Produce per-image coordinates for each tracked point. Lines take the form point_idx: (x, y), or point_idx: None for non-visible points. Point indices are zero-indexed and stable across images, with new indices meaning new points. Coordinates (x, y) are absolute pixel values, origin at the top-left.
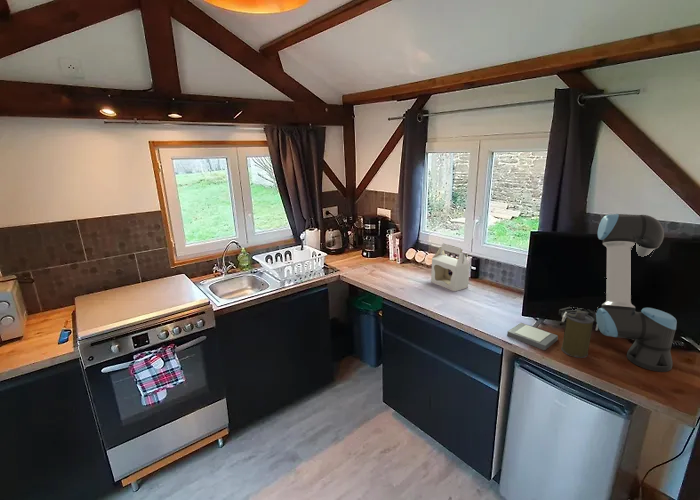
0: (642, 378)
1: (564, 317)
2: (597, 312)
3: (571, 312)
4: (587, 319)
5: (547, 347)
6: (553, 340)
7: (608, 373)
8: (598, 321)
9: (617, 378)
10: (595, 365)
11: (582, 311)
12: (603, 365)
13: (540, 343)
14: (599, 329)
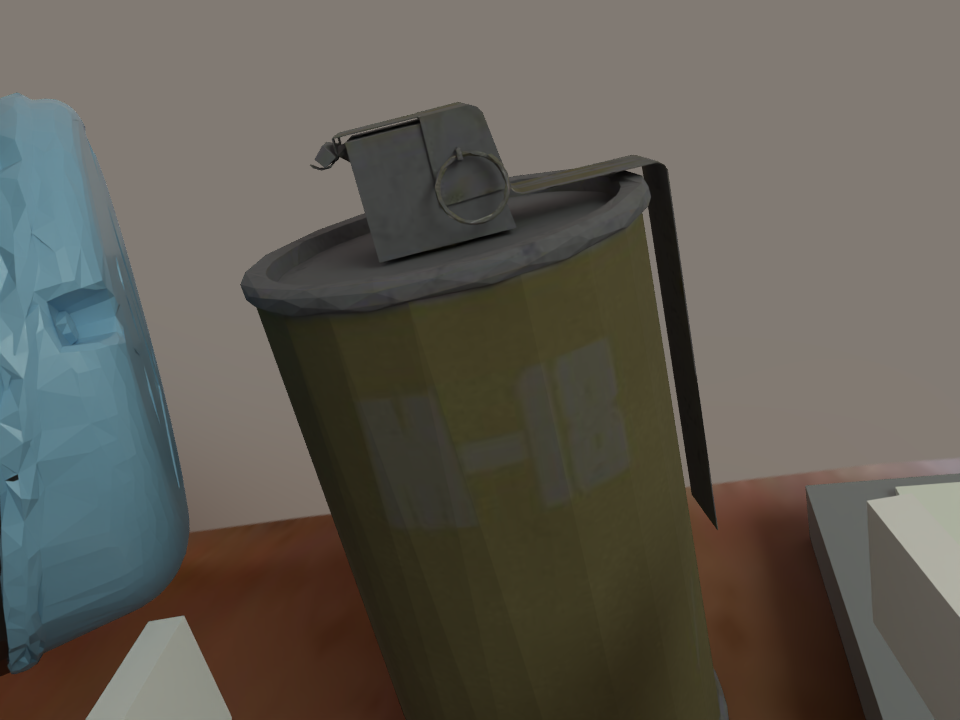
0: (11, 698)
1: (891, 562)
2: (107, 255)
3: (605, 208)
4: (340, 267)
5: (822, 573)
6: (862, 674)
7: (269, 592)
8: (155, 419)
9: (221, 580)
10: (353, 624)
11: (394, 121)
12: (283, 670)
13: (871, 486)
14: (188, 520)
